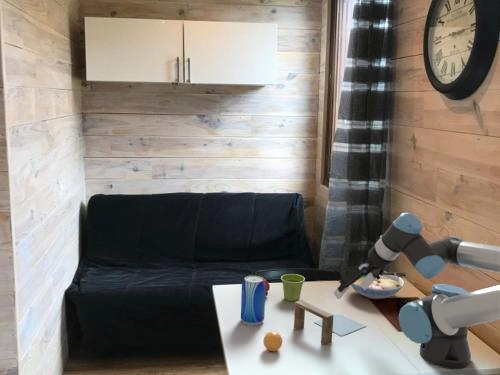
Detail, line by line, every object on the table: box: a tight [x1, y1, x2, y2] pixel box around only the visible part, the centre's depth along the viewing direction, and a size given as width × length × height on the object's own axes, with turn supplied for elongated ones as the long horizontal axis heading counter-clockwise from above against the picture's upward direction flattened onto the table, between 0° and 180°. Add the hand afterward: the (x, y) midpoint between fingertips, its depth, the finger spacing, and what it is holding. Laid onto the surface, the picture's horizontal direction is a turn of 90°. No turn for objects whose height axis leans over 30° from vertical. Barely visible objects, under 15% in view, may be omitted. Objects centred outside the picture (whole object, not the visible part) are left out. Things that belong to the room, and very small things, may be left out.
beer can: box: [240, 275, 266, 327], centre depth 185 cm, size 8×8×16 cm
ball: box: [263, 331, 283, 352], centre depth 166 cm, size 6×6×6 cm
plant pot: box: [280, 273, 306, 302], centre depth 207 cm, size 9×9×9 cm
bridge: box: [293, 299, 335, 346], centre depth 177 cm, size 3×15×10 cm, turn 39°
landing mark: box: [313, 312, 367, 337], centre depth 186 cm, size 13×13×1 cm
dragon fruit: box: [261, 276, 271, 297], centre depth 209 cm, size 8×8×12 cm
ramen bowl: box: [343, 269, 406, 300], centre depth 213 cm, size 25×23×8 cm
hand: (349, 291), depth 177 cm, fingers open, 13 cm apart
